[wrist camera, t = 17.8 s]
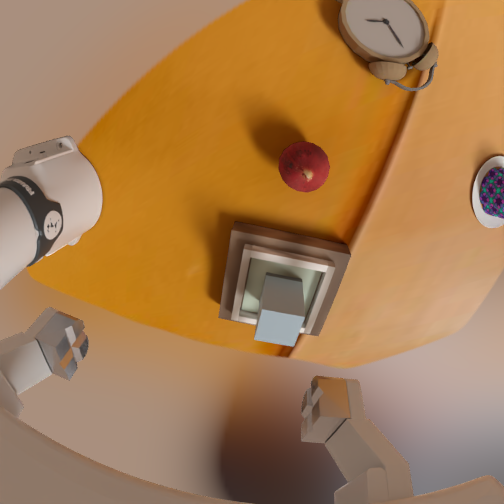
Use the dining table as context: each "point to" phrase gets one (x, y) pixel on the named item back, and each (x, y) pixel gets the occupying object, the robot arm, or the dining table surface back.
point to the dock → (281, 272)
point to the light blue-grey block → (280, 310)
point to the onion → (304, 166)
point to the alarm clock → (388, 37)
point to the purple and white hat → (490, 193)
